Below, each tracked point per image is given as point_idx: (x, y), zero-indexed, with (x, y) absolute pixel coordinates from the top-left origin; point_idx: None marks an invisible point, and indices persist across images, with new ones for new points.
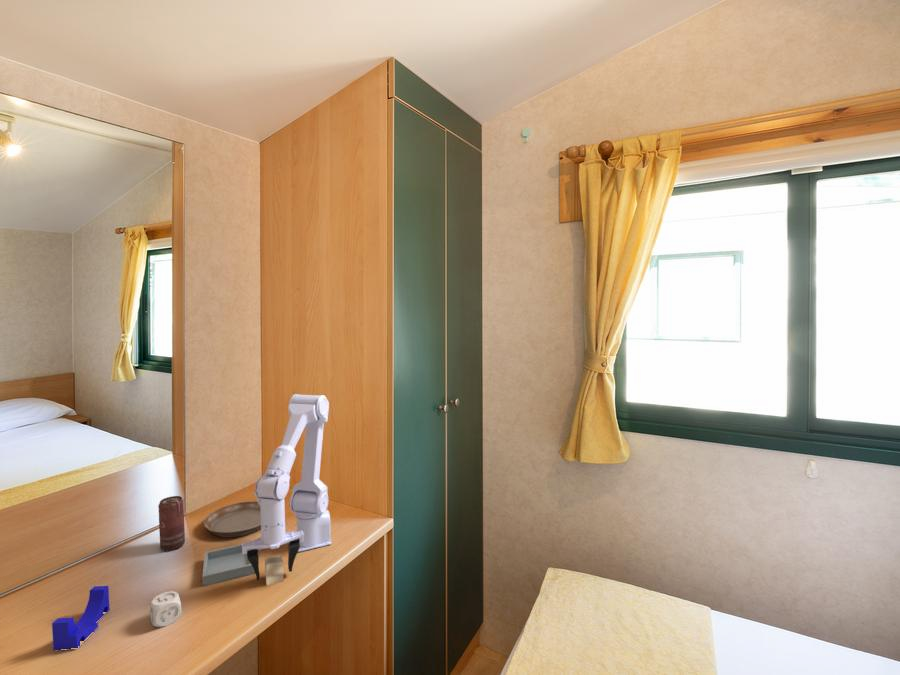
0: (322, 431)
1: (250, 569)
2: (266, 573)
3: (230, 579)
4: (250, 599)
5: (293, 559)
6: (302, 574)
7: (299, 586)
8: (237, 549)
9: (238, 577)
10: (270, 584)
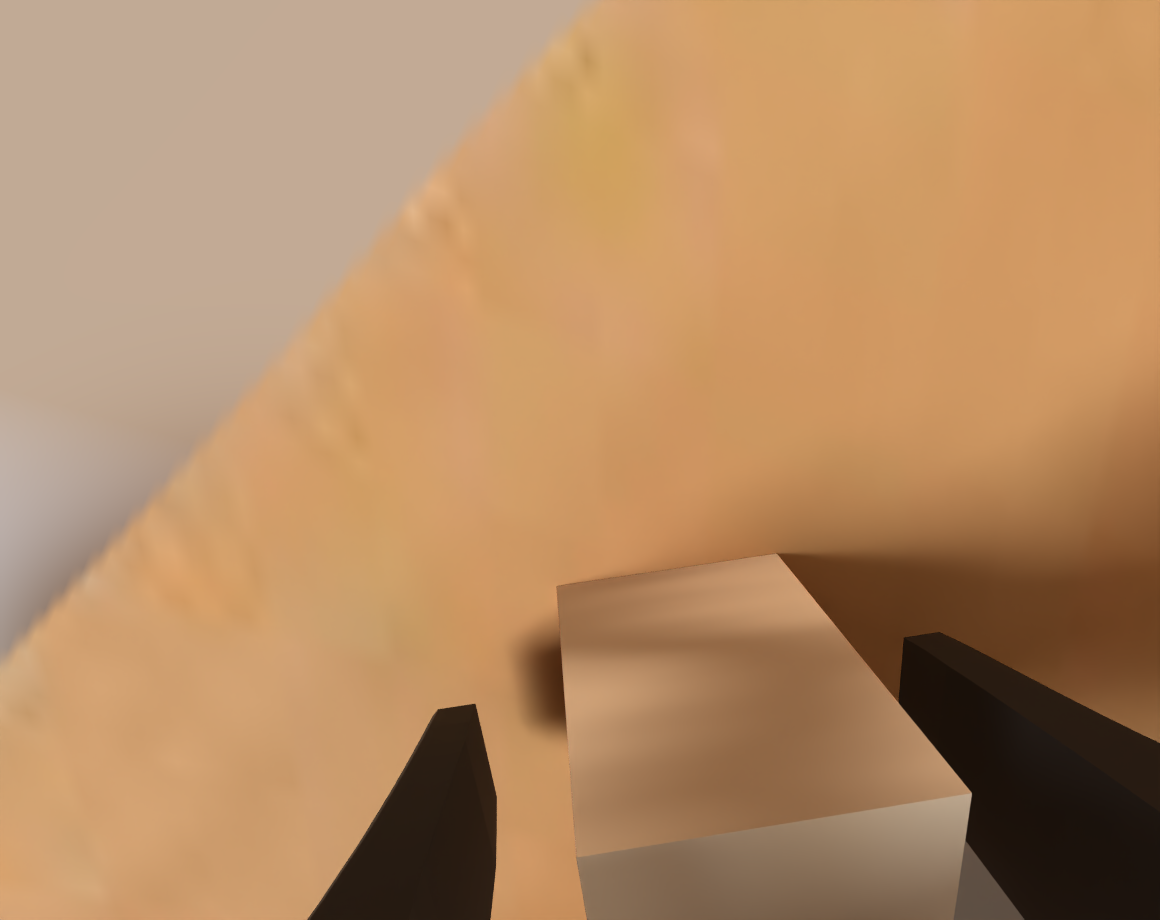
0: None
1: (974, 862)
2: (868, 669)
3: None
4: (1011, 295)
5: (330, 911)
6: (302, 663)
7: (305, 387)
8: None
9: None
10: (727, 561)
